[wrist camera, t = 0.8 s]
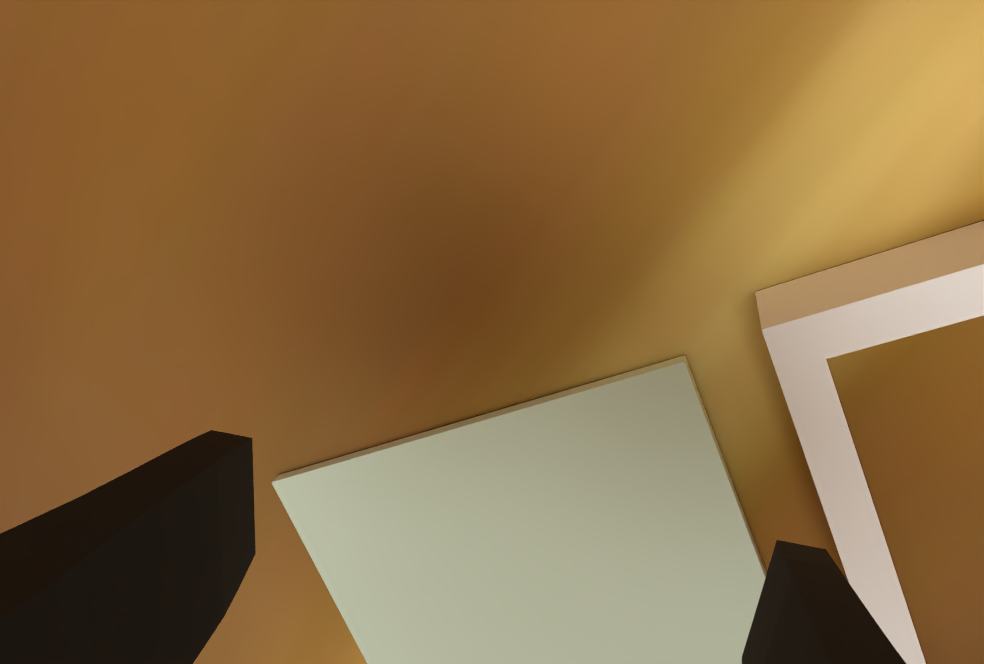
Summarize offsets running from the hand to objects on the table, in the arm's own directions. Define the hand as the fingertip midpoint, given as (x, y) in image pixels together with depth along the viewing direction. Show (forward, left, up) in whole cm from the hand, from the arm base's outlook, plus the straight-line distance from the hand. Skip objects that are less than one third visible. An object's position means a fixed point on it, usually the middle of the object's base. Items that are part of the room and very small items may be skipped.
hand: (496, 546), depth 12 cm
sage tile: (-8, +4, -10) cm, 14 cm away
